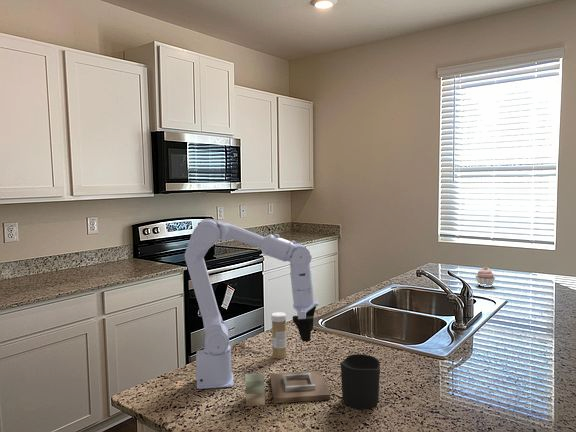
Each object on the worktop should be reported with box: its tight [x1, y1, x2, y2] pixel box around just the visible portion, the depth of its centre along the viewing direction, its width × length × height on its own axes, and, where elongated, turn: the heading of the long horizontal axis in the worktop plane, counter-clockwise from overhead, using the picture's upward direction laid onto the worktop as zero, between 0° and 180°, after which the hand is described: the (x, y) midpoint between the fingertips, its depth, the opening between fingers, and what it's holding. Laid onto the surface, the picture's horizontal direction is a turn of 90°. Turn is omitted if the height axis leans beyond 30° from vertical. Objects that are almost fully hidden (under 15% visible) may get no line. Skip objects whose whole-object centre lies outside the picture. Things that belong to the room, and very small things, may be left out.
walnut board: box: [269, 370, 331, 404], centre depth 117 cm, size 14×14×2 cm
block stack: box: [244, 372, 266, 407], centre depth 111 cm, size 4×4×6 cm
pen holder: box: [340, 353, 381, 410], centre depth 109 cm, size 9×9×10 cm
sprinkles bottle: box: [271, 311, 288, 360], centre depth 138 cm, size 5×5×14 cm
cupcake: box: [475, 266, 496, 286], centre depth 222 cm, size 9×9×10 cm
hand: (307, 335), depth 124 cm, fingers open, 7 cm apart
